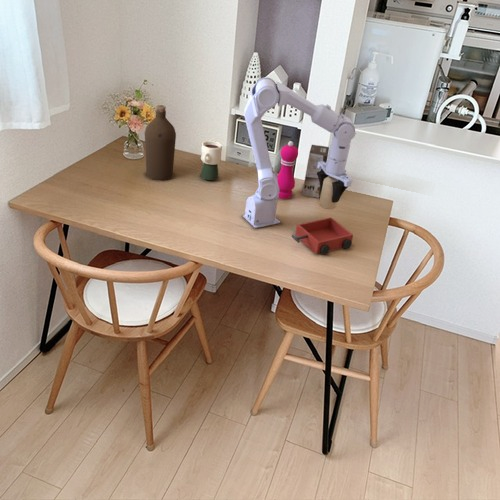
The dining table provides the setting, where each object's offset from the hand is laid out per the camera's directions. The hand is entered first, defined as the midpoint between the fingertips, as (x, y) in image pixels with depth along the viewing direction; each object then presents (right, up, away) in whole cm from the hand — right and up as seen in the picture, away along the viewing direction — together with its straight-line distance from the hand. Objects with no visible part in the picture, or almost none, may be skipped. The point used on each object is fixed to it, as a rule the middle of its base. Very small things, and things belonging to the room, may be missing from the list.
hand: (329, 197), depth 168 cm
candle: (0, -3, +2) cm, 3 cm away
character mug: (-40, +9, +26) cm, 48 cm away
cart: (-3, -14, -3) cm, 14 cm away
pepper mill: (-13, +3, +20) cm, 25 cm away
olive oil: (-57, +10, +24) cm, 63 cm away
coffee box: (-3, +5, +25) cm, 26 cm away
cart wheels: (-5, -14, -5) cm, 16 cm away
